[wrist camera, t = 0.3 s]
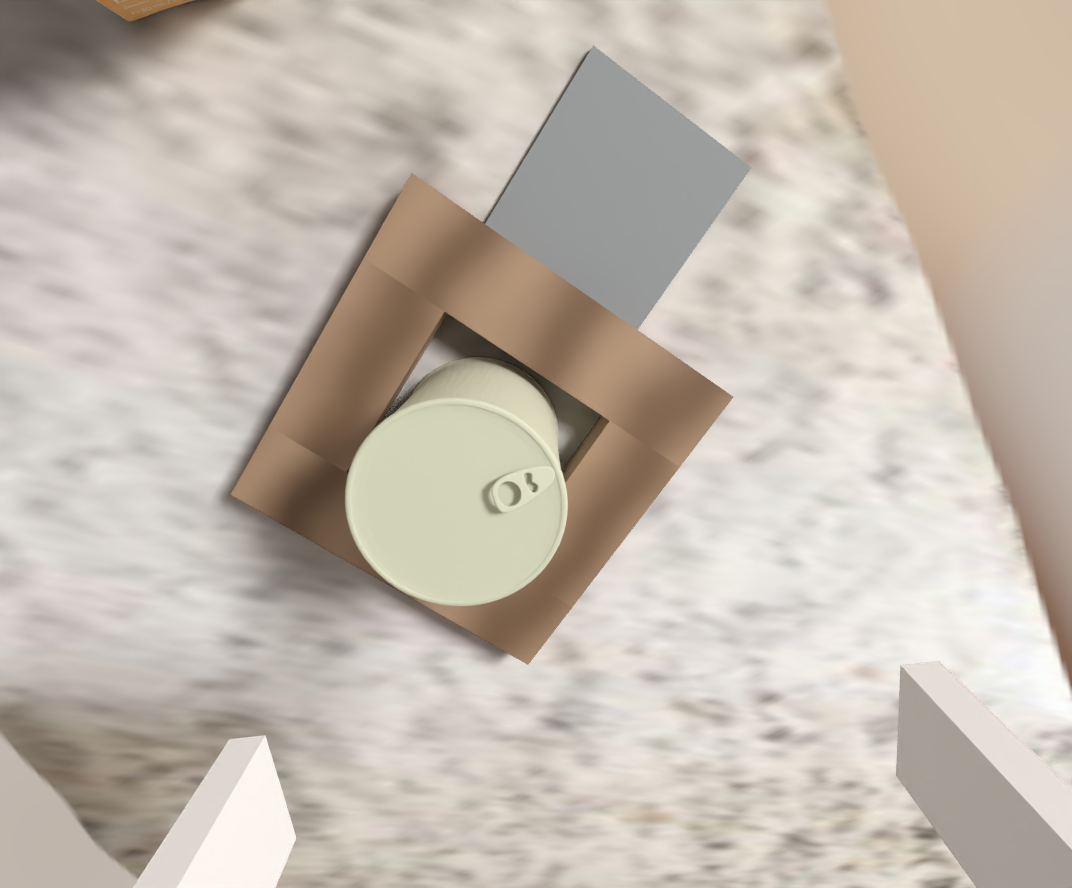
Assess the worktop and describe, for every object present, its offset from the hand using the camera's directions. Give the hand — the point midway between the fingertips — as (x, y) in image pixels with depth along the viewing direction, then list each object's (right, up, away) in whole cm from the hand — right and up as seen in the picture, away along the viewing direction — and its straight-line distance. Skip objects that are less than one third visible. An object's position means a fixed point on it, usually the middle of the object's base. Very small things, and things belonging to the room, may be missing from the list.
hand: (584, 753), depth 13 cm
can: (-4, +7, +23) cm, 25 cm away
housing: (-4, +7, +23) cm, 25 cm away
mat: (+3, +19, +20) cm, 28 cm away
